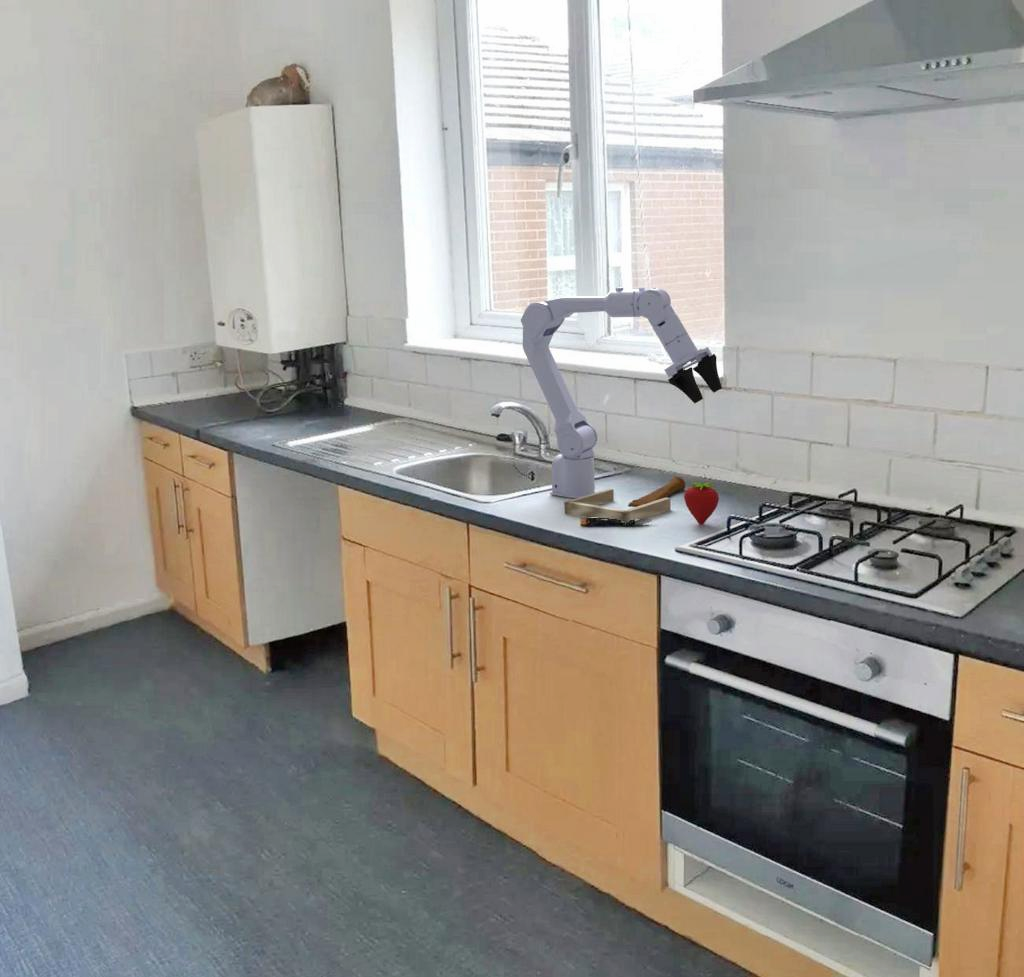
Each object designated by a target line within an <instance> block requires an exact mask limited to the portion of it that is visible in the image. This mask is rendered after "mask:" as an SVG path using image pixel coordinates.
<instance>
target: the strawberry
mask: <svg viewBox="0 0 1024 977" xmlns="http://www.w3.org/2000/svg"><path fill="white" fill-rule="evenodd" d="M705 477H706V474H704V475H703V480H702V483H701V482H689V483H690V485H689V487H688V488H687V489H685V490H684V496H683V499H684V502H685V506H686V507H687V509H688V511H689V512H690V514H691V516H692V517H693V518H694V519H695V520H696V522H697V523H698V524H699V525H703V524H705V523H706V521H707V520H708V519H709V518H710V517H711V516H712V515H713V513H714V512H715V511H716V509H717V508H718V503H719V500H720V498H719V493H718V492H717V490H716V489H714V488H716V486H714V485H715V483H714V482H705V483H703V482H704V480H705Z"/></svg>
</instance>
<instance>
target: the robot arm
mask: <svg viewBox="0 0 1024 977" xmlns="http://www.w3.org/2000/svg"><path fill="white" fill-rule="evenodd" d="M645 288H646V287H641V286H640V287H638V289H624V287H623V286H621V287H620V286H619V287H615V289H614V290H613V289H611V290H610V291H609V292H608V293H607V294H606V295H605V296H563V297H558V298H554V299H548V300H544V301H541V302H540V301H535V302H531V303H530V304H528V306H526V308H525V309H524V312H523V314H522V316H521V318H520V323H521V326H522V349H523V352H524V355H525V356H526V358H527V361H528V363H529V365H530V367H531V370H532V371H533V374H534V377H535V378H536V380H537V383H538V385H539V387H540V390H541V391H542V393H543V395H544V397H545V400H546V402H547V404H548V407H549V409H550V411H551V413H552V415H553V417H554V420H555V424H554V433H555V436H556V439H557V440H556V445H557V449H558V450H559V452H560V453H559V454H557V455H556V456H554V458H553V460H552V462H551V490H552V491H550V492H549V495H553V496H559V497H564V498H570V499H576V498H579V497H583V496H586V495H589V494H593V493H596V492H599V491H602V490H599V489H595V488H596V484H595V452H594V451H593V450H594V447H595V446H596V445H597V442H598V433H597V430H596V429H595V427H594V426H593V425H591V424H590V423H589V422H588V420H587V418H586V416H585V415H584V414H582V413H581V411H579V410H578V409H577V406H576V404H575V402H574V399H573V398H572V395H571V393H570V392H569V389H568V387H567V384H566V382H565V380H564V377H563V375H562V373H561V372H560V369H559V367H558V364H557V363H556V361H555V359H554V356H553V354H552V351H551V350H550V347H549V345H550V343H551V340H552V338H553V336H554V334H555V333H556V332H557V331H558V329H559V328H560V327H561V326H562V325H563V323H564V322H565V319H566V318H567V319H568V318H570V317H571V316H572V315H573V314H576V313H577V314H579V313H580V314H581V313H595V312H596V313H597V312H598V313H599V312H605V313H606V314H607V315H608V316H609V317H611V318H640V317H643V318H645V319H647V320H648V322H649V324H650V325H651V327H652V329H653V331H654V333H655V334H656V336H657V337H658V338H657V339H659V342H660V343H661V345H662V346H663V348H664V350H665V351H666V353H667V355H668V356H669V359H670V361H671V362H672V363H673V364H671V365H669V366H668V367H666V368H664V372H665V374H666V375H667V377H668V379H667V381H668V382H669V384H670V385H672V386H673V387H675V388H677V389H679V391H681V392H683V394H685V396H687V398H688V399H690V400H691V402H692V403H693V404H697V403H698V402H700V401H703V400H704V397H703V394H702V392H701V390H700V388H699V386H698V385H697V382H696V379H695V376H694V372H695V373H697V374H698V375H699V377H701V378H702V379H703V381H704V382H705V384H706V385H707V386H708V388H709V389H710V390H711V392H712V393H713V394H714V393H716V392H718V391H720V390H722V388H723V386H722V383H721V380H720V376H719V372H718V367H717V356H716V354H715V353H712V352H711V350H710V349H709V346H706V347H705V348H699V349H698V348H697V346H696V345H695V343H694V341H693V339H692V338H691V336H690V334H689V333H688V331H687V330H686V328H685V326H684V325H683V323H682V321H681V319H680V318H679V316H678V314H677V313H676V312H675V310H674V309H673V307H672V305H671V304H672V303H671V301H672V300H671V297H670V295H669V293H668V292H667V291H666V290H664V289H661V288H656V287H653V288H651V289H647V290H646V289H645ZM696 364H697V365H696ZM694 365H696V366H694ZM692 366H694V367H692Z"/></svg>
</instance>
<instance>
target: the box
mask: <svg viewBox="0 0 1024 977" xmlns="http://www.w3.org/2000/svg"><path fill="white" fill-rule="evenodd" d="M614 494H615V492H614V489H613V488H607V489H604V490H601V491H599V492H596V493H593V494H589V495H586V496H583V497H579V498H571V499H569V500H566V501H564V502H563V503H564V514H566V515H570V516H577V517H583V518H587V517H598V518H609V519H617V520H622V521H623V522H624V523H625V524H624V525H626V523H627V522H629V521H630V520H634V519H642V520H644V519H647V518H648V519H649V518H650V517H653V516H657V515H659V514H662V513H665V512H668V511H671V497H666V498H662V499H659V500H656V501H653V502H650V503H647V504H644V505H641V506H638V507H632V508H629V509H626V510H624V509H619V508H613V507H612V508H611V507H608V506H607V507H606V506H601V505H603V504H604V505H605V504H606V503H610V502H613V501H615V500H614V499H615V498H614Z"/></svg>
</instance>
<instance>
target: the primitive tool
mask: <svg viewBox="0 0 1024 977" xmlns="http://www.w3.org/2000/svg"><path fill="white" fill-rule="evenodd" d="M685 488H686V482H685V480H684V479H683V477H681V476H678V475H677V476H674V477H673V478H672V479H671V481H669V482H668V483H667V484H665V485H663V486H661V487H659V488H658V489H656V490H654V491H652V492H651V493H648V494H646V495H645V496H642V497H639V498H637V499H633V500H632V501H630V502H629V503H628V505H627V506H628V507H632V508H635V507H638V506H641V505H644V504H647V503H650V502H653V501H656V500H659V499H662V498H669V495H670V496H671V495H673V494H674V493H676V492H680V491H679V490H682V491H685V490H686V489H685Z"/></svg>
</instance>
